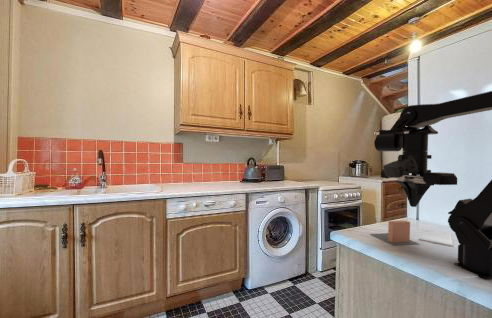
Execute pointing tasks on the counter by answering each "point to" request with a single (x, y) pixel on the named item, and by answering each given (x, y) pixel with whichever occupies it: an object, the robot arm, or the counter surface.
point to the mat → (385, 238)
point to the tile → (399, 231)
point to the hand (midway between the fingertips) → (413, 206)
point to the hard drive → (436, 238)
